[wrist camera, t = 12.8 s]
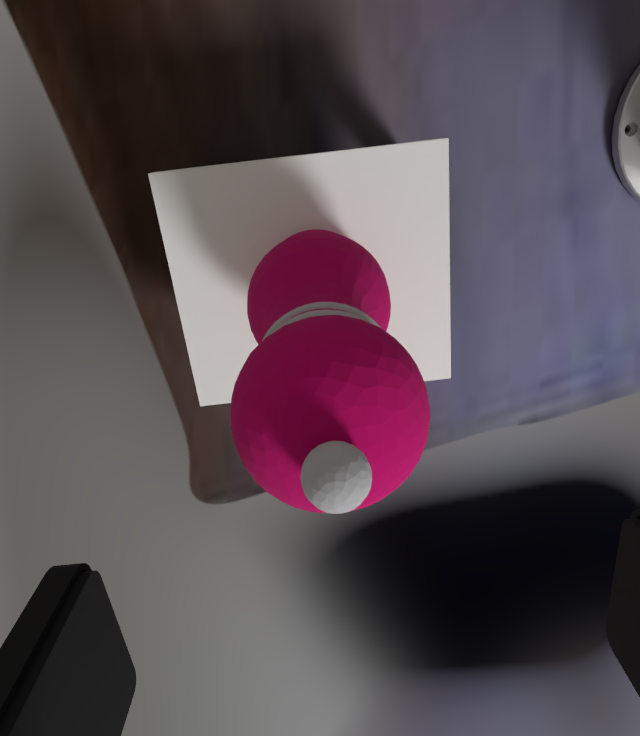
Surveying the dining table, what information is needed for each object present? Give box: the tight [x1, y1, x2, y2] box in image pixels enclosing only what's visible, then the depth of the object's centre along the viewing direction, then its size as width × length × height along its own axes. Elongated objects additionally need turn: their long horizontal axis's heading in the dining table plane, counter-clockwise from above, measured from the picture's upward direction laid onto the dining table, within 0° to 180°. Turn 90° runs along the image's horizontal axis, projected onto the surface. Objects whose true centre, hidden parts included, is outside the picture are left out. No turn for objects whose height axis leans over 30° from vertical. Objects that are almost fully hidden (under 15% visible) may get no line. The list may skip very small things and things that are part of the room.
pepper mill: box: [231, 229, 430, 514], centre depth 21 cm, size 7×7×20 cm
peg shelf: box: [148, 138, 451, 406], centre depth 35 cm, size 16×14×10 cm
